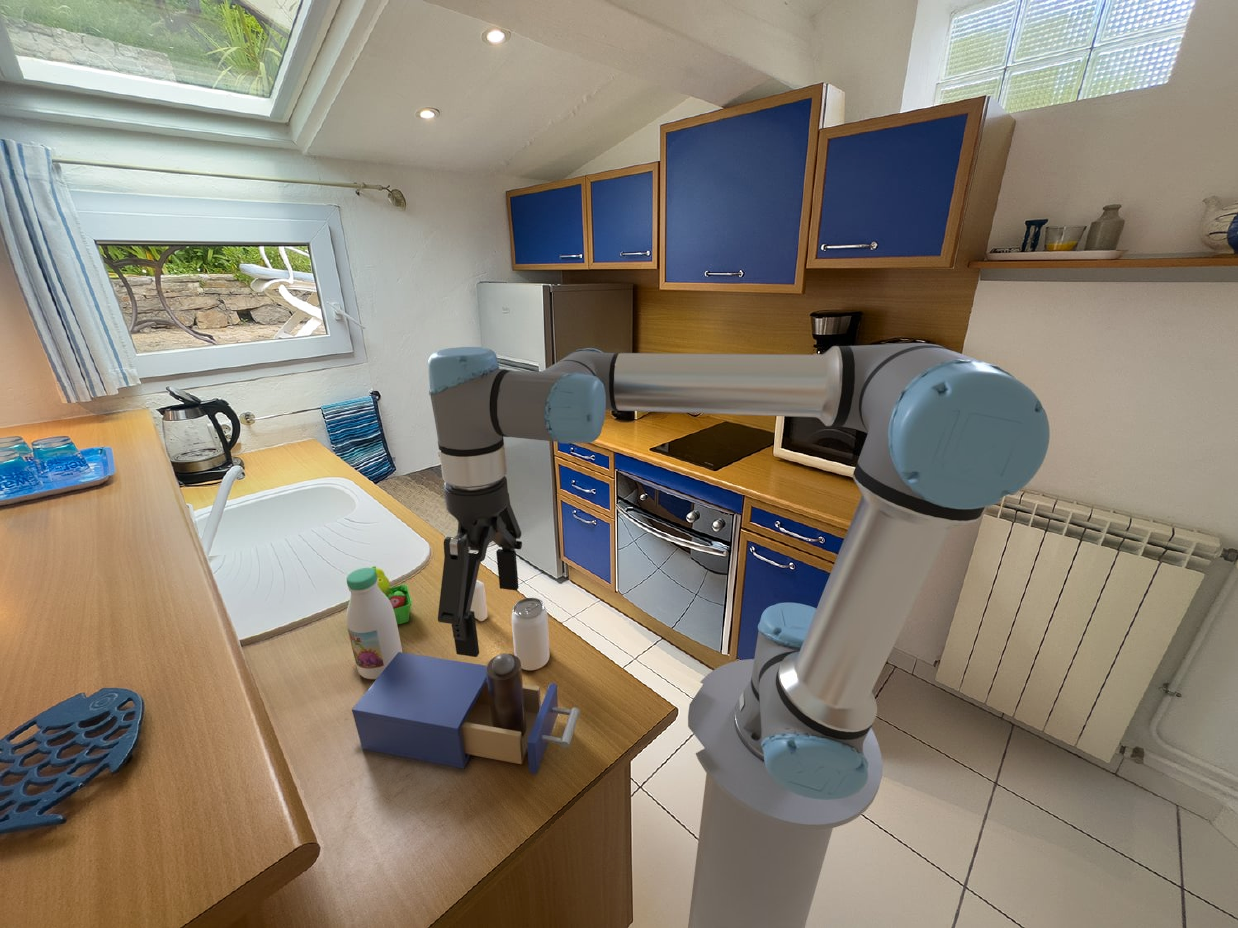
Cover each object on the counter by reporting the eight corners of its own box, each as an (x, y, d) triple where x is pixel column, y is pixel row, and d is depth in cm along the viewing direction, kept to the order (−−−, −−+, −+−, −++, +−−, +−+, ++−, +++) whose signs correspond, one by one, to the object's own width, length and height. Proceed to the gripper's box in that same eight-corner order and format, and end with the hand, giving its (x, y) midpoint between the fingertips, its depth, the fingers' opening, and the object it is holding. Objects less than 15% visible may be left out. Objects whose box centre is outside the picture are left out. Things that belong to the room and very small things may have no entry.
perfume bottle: (488, 617, 104) (483, 569, 99) (481, 622, 102) (475, 573, 97) (465, 601, 108) (459, 555, 103) (457, 606, 107) (451, 559, 102)
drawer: (583, 717, 80) (583, 688, 78) (565, 779, 71) (564, 748, 68) (469, 698, 83) (465, 669, 81) (437, 755, 74) (432, 724, 71)
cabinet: (496, 703, 84) (492, 666, 80) (463, 768, 73) (457, 728, 70) (406, 688, 86) (398, 651, 83) (362, 748, 76) (351, 709, 72)
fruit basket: (354, 642, 96) (342, 595, 92) (351, 616, 103) (340, 571, 99) (416, 623, 101) (407, 578, 97) (409, 599, 109) (401, 556, 104)
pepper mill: (530, 718, 78) (525, 646, 73) (519, 746, 74) (512, 672, 68) (501, 713, 79) (493, 641, 74) (488, 741, 75) (478, 667, 69)
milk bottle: (388, 643, 96) (370, 556, 88) (412, 660, 92) (395, 571, 84) (349, 667, 90) (326, 577, 83) (372, 687, 86) (350, 594, 79)
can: (507, 661, 92) (502, 610, 88) (532, 641, 97) (528, 591, 93) (533, 677, 89) (529, 624, 84) (556, 655, 94) (554, 604, 89)
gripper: (489, 441, 72) (500, 564, 80) (384, 525, 49) (415, 684, 57) (538, 445, 71) (544, 569, 79) (454, 532, 48) (475, 694, 56)
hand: (490, 618), depth 68 cm, fingers open, 13 cm apart
